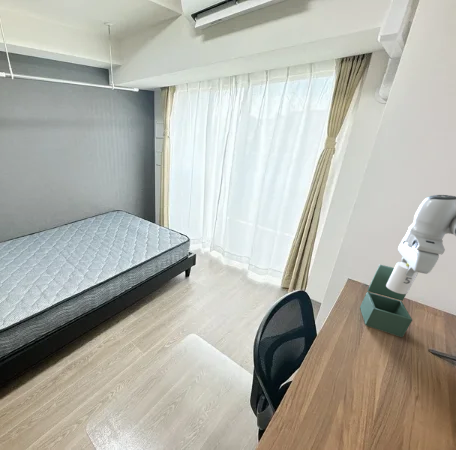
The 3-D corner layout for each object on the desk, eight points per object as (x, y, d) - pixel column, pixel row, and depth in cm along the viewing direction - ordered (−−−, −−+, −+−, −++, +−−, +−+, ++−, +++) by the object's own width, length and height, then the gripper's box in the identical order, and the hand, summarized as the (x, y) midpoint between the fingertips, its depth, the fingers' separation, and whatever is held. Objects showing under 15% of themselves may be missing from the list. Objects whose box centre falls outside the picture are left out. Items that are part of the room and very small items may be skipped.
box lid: (417, 274, 95) (413, 268, 99) (380, 265, 100) (377, 260, 104) (402, 300, 101) (399, 294, 104) (367, 291, 106) (365, 285, 110)
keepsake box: (402, 337, 94) (412, 320, 91) (365, 325, 100) (373, 308, 96) (393, 317, 105) (401, 301, 101) (359, 307, 110) (367, 291, 106)
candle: (390, 292, 94) (407, 258, 88) (382, 282, 99) (398, 250, 94) (411, 296, 92) (429, 261, 86) (402, 286, 97) (419, 253, 92)
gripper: (401, 227, 97) (387, 258, 102) (420, 247, 81) (403, 282, 86) (422, 231, 94) (407, 262, 99) (447, 252, 78) (427, 288, 83)
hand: (405, 271), depth 92 cm, fingers closed on candle, 4 cm apart
